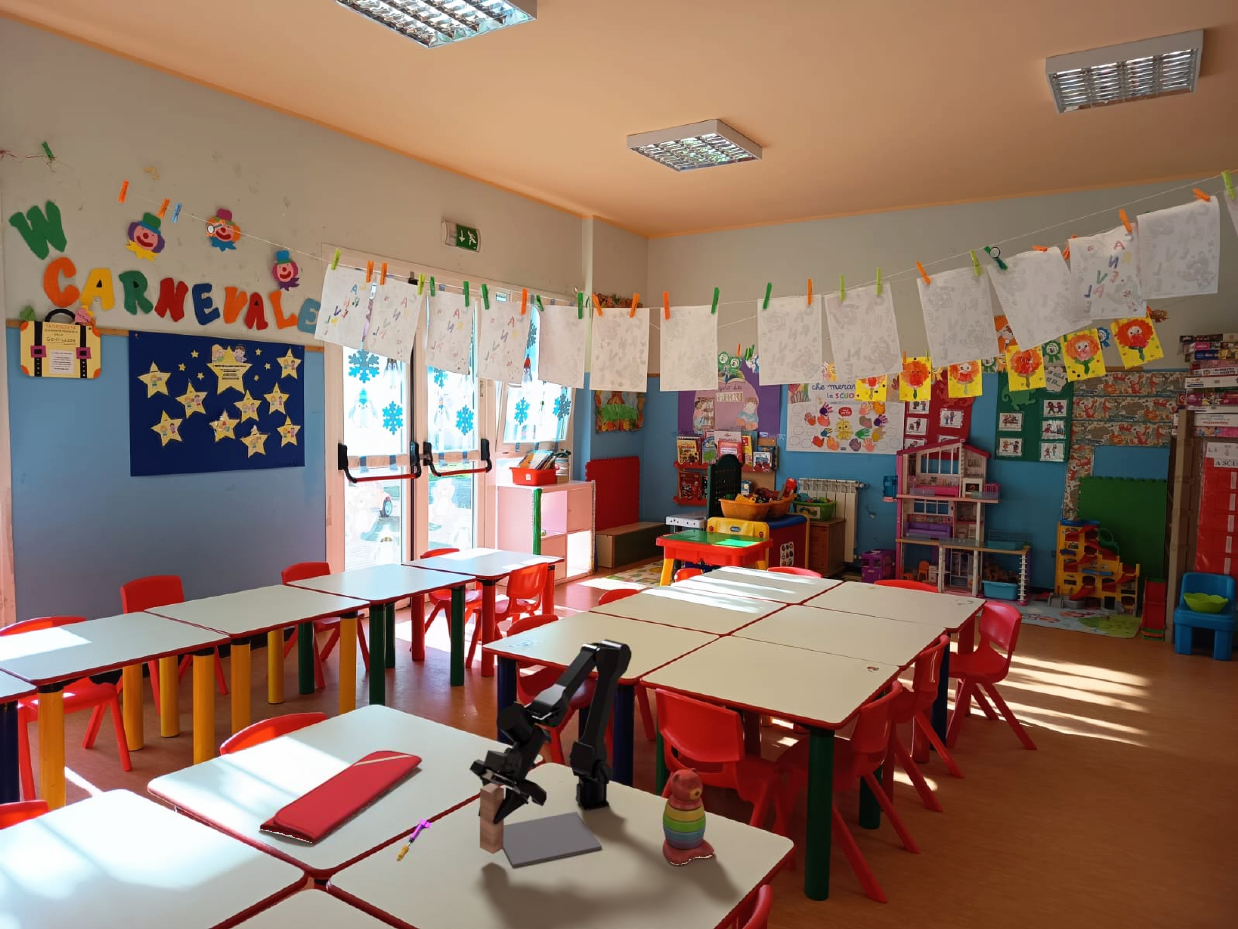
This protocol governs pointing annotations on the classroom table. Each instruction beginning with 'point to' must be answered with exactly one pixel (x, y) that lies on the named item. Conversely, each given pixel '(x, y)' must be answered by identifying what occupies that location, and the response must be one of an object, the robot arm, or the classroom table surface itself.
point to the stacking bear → (685, 819)
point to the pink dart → (414, 836)
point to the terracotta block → (491, 818)
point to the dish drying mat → (341, 795)
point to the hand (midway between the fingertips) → (486, 820)
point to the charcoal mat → (547, 839)
